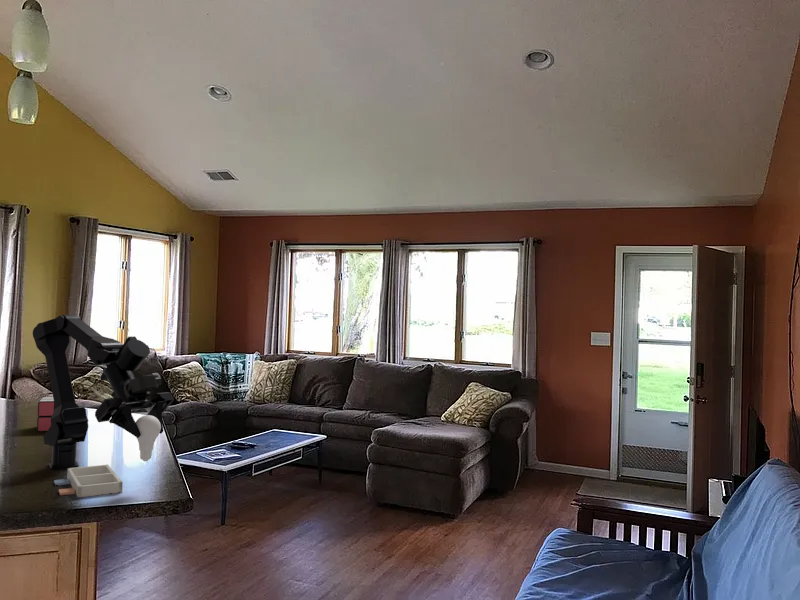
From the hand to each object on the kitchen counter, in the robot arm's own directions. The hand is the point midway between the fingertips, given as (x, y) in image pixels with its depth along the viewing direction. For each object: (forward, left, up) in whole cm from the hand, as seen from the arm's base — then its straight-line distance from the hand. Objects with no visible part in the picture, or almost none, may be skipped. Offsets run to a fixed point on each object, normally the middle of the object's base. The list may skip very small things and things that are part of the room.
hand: (150, 434), depth 158 cm
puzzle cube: (-85, -10, -14) cm, 87 cm away
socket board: (-10, -12, -13) cm, 20 cm away
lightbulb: (-1, -1, -7) cm, 7 cm away
